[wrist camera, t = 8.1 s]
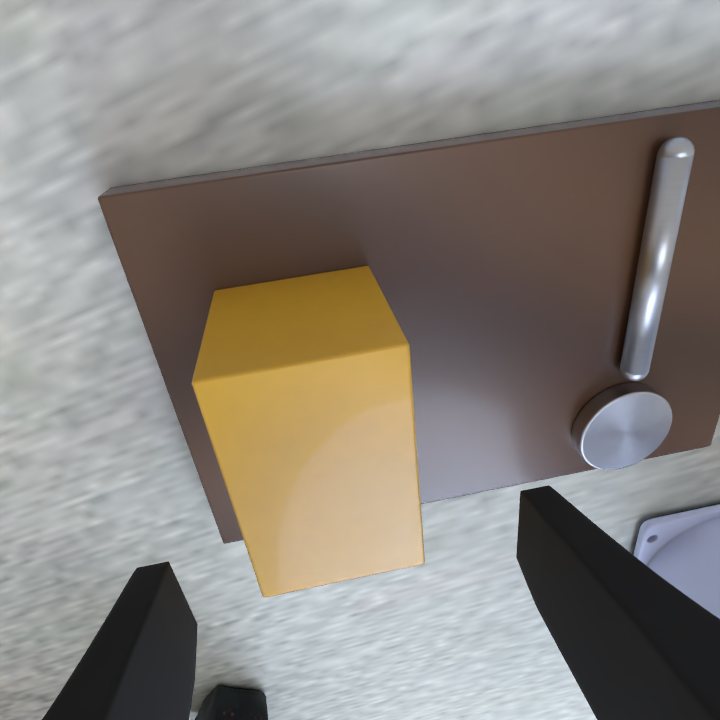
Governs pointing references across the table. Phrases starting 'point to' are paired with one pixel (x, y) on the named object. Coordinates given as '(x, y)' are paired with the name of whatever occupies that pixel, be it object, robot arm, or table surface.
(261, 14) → the table surface
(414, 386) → the board
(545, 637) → the table surface
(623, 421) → the silver rod with disc
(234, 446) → the block
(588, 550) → the robot arm
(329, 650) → the table surface
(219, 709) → the green animal figurine
